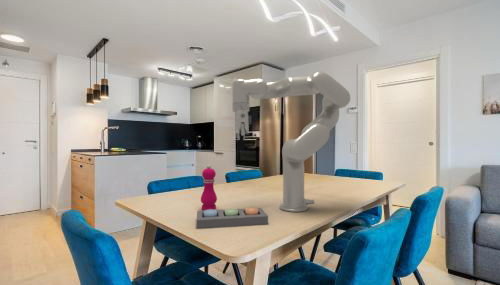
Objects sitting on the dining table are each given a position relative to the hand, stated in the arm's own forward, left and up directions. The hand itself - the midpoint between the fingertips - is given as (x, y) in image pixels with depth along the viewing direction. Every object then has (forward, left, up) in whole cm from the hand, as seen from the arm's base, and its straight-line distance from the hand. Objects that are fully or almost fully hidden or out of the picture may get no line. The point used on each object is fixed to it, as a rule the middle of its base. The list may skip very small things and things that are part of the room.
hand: (240, 149), depth 114 cm
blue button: (+14, +15, -26) cm, 33 cm away
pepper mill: (+14, -4, -27) cm, 31 cm away
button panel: (+6, +15, -27) cm, 32 cm away
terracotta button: (-2, +15, -26) cm, 30 cm away
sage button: (+6, +15, -26) cm, 30 cm away
